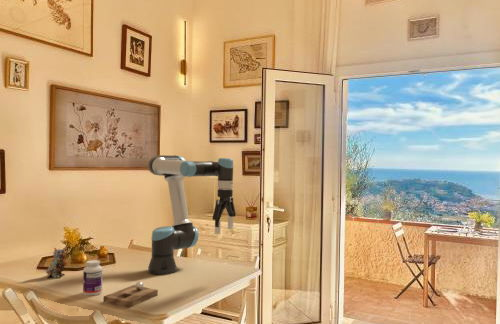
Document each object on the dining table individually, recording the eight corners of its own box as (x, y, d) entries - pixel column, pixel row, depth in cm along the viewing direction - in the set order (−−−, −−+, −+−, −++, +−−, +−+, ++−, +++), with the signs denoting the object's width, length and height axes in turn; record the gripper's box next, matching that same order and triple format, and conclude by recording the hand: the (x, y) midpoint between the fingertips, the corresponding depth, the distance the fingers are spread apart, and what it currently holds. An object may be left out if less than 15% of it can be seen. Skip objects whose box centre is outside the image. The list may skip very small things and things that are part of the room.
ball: (133, 290, 184) (133, 282, 184) (139, 288, 187) (139, 280, 187) (139, 291, 182) (139, 283, 182) (145, 289, 185) (145, 281, 185)
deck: (103, 302, 175) (103, 296, 175) (133, 290, 191) (133, 285, 191) (128, 308, 169) (128, 301, 169) (157, 295, 185) (157, 289, 185)
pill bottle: (86, 290, 190) (86, 259, 190) (104, 290, 191) (104, 259, 191) (80, 296, 182) (80, 263, 182) (99, 296, 183) (99, 263, 183)
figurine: (57, 273, 218) (57, 244, 218) (69, 275, 214) (69, 246, 214) (42, 277, 210) (43, 247, 210) (55, 279, 206) (55, 249, 206)
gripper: (219, 191, 194) (218, 236, 195) (242, 187, 217) (241, 228, 217) (205, 190, 197) (204, 234, 198) (229, 187, 220) (228, 226, 220)
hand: (224, 231), depth 208 cm, fingers open, 13 cm apart
